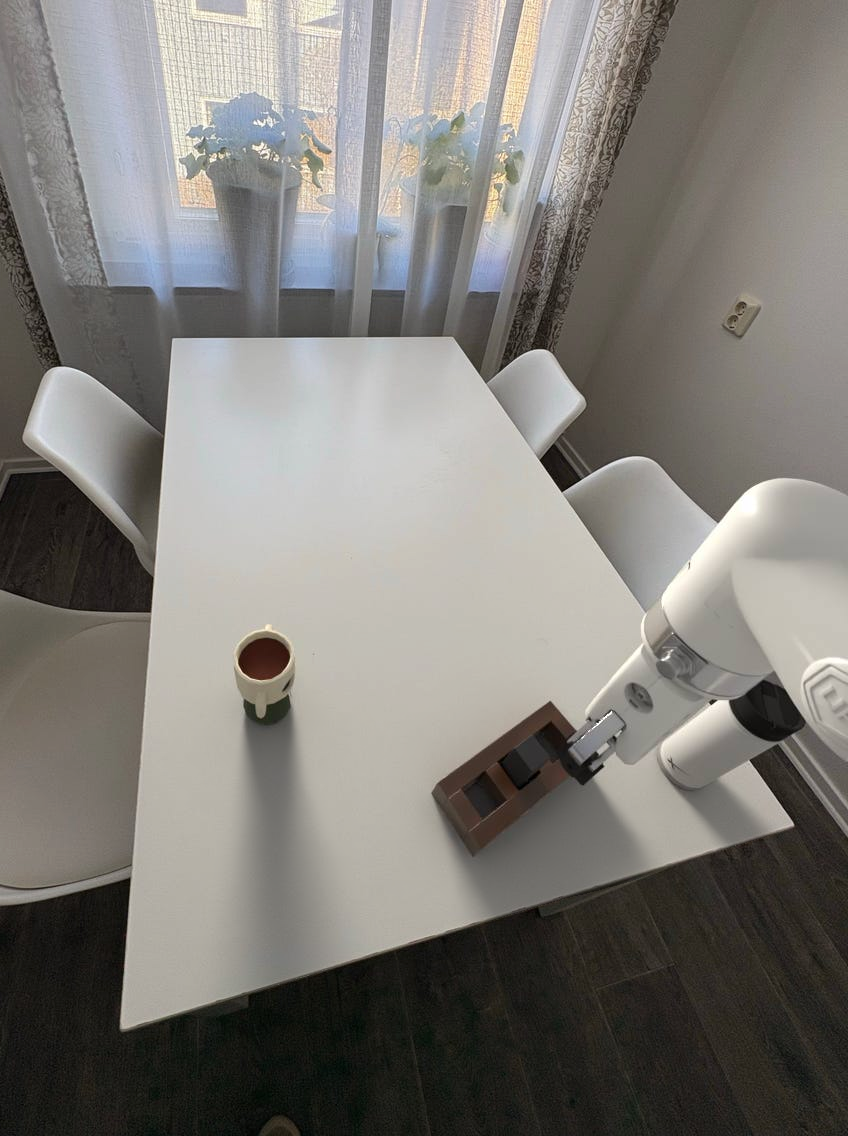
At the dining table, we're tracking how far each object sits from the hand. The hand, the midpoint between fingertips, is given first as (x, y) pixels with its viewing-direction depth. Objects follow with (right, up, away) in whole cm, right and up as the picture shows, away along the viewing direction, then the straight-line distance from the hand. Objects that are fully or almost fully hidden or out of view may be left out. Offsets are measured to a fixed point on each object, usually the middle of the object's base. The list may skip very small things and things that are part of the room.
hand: (605, 738), depth 48 cm
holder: (-4, -14, +19) cm, 24 cm away
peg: (-4, -14, +19) cm, 24 cm away
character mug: (-35, -6, +23) cm, 42 cm away
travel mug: (+20, -14, +22) cm, 33 cm away
